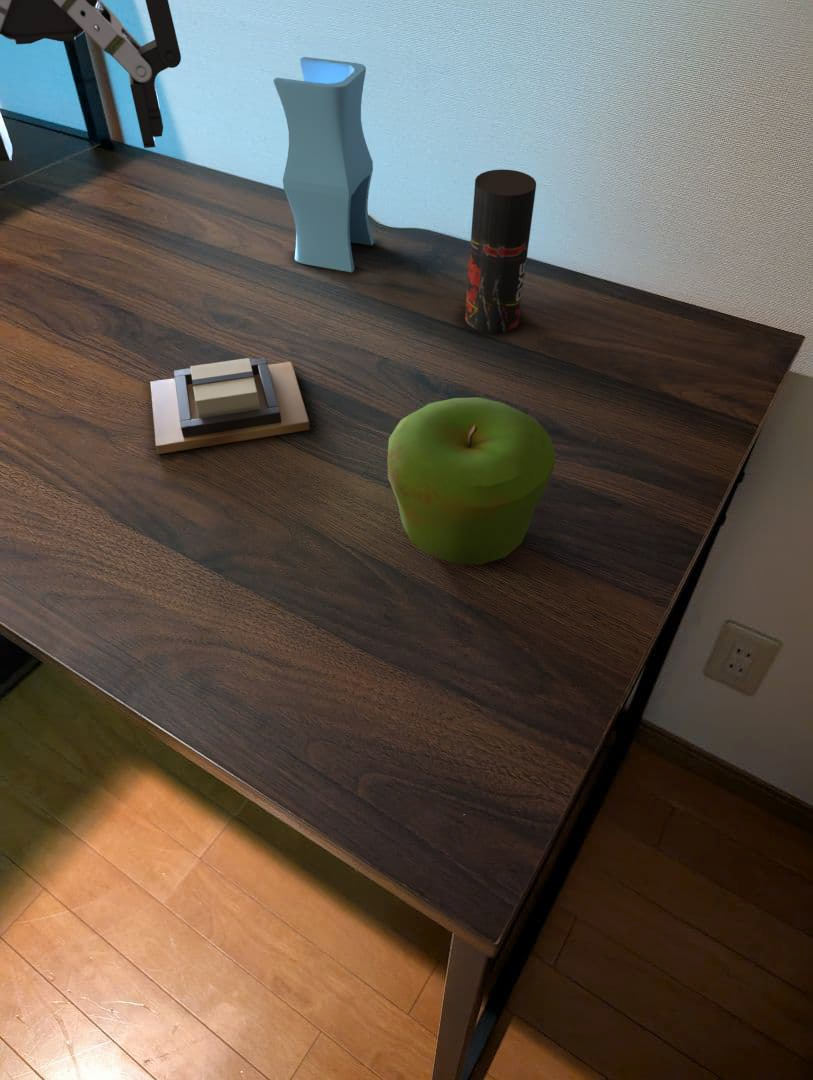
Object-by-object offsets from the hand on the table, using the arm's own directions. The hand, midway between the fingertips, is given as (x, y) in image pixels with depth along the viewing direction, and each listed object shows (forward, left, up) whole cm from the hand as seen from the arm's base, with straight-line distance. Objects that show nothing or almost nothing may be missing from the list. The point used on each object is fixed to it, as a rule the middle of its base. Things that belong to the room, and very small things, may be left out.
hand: (78, 150), depth 49 cm
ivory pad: (+6, +9, -27) cm, 29 cm away
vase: (+22, +37, -28) cm, 52 cm away
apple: (+23, -12, -28) cm, 38 cm away
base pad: (+6, +9, -28) cm, 30 cm away
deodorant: (+36, +18, -28) cm, 49 cm away
